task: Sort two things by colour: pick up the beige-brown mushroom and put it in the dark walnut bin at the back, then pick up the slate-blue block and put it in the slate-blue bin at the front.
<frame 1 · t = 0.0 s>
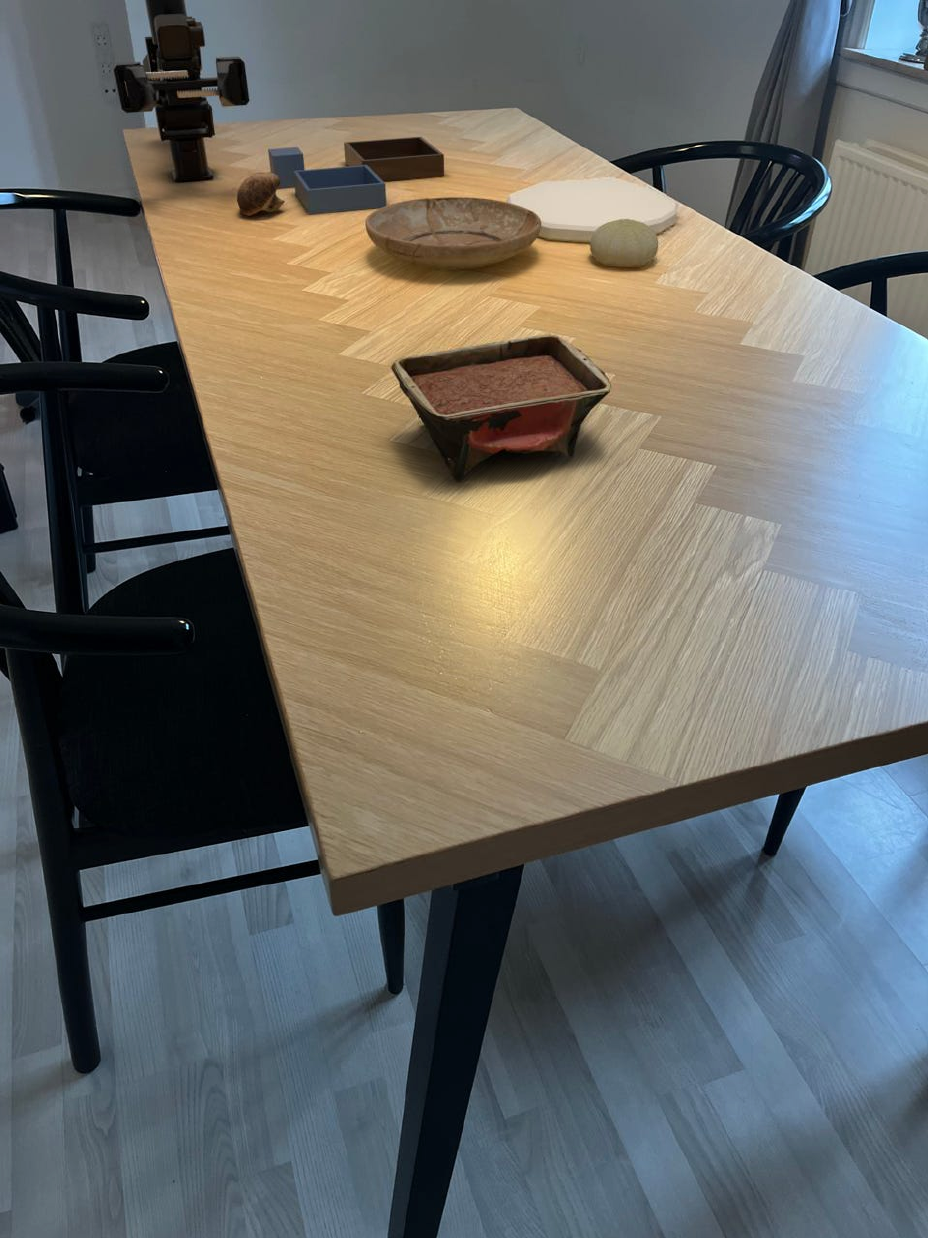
hand: (187, 94, 134), 17 cm above the table, tool horizontal, fingers open, 9 cm apart
walnut bin: (393, 169, 166), on the table
blue bin: (340, 200, 151), on the table
mushroom: (261, 214, 146), on the table
blue block: (289, 183, 159), on the table
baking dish: (498, 443, 88), on the table
sea urchin shell: (622, 261, 127), on the table
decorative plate: (591, 219, 143), on the table
ceramic bowl: (453, 257, 129), on the table
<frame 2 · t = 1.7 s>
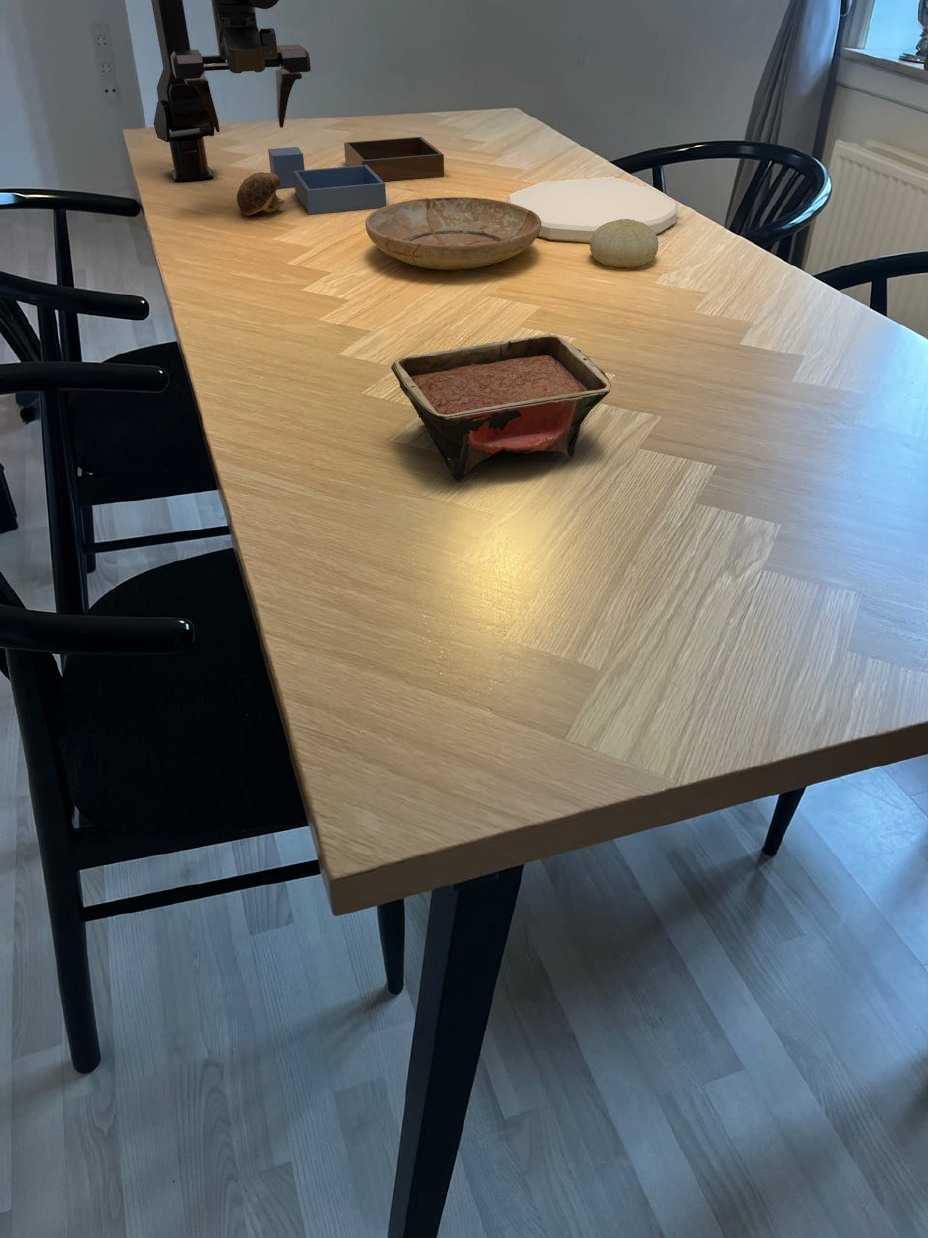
hand: (249, 129, 138), 12 cm above the table, tool pointing down, fingers open, 9 cm apart
nothing on the table moved.
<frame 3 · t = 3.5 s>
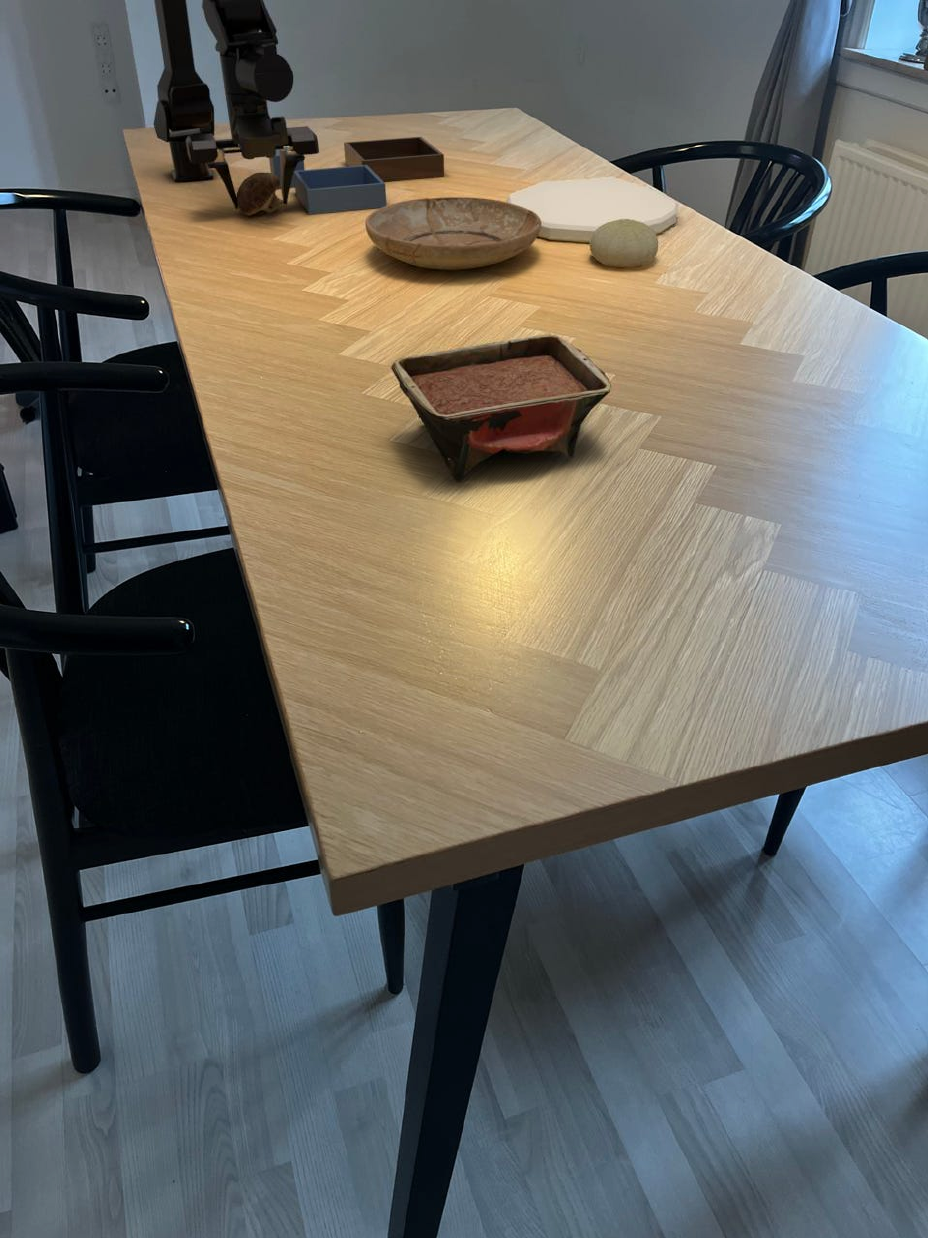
hand: (260, 205, 145), 1 cm above the table, tool pointing down, fingers closed on mushroom, 7 cm apart
mushroom: (261, 214, 145), on the table, touching gripper
everything else where it was.
when the fingers open (2 cm above the table, at t = 10.1 s): mushroom stays where it is, resting on walnut bin.
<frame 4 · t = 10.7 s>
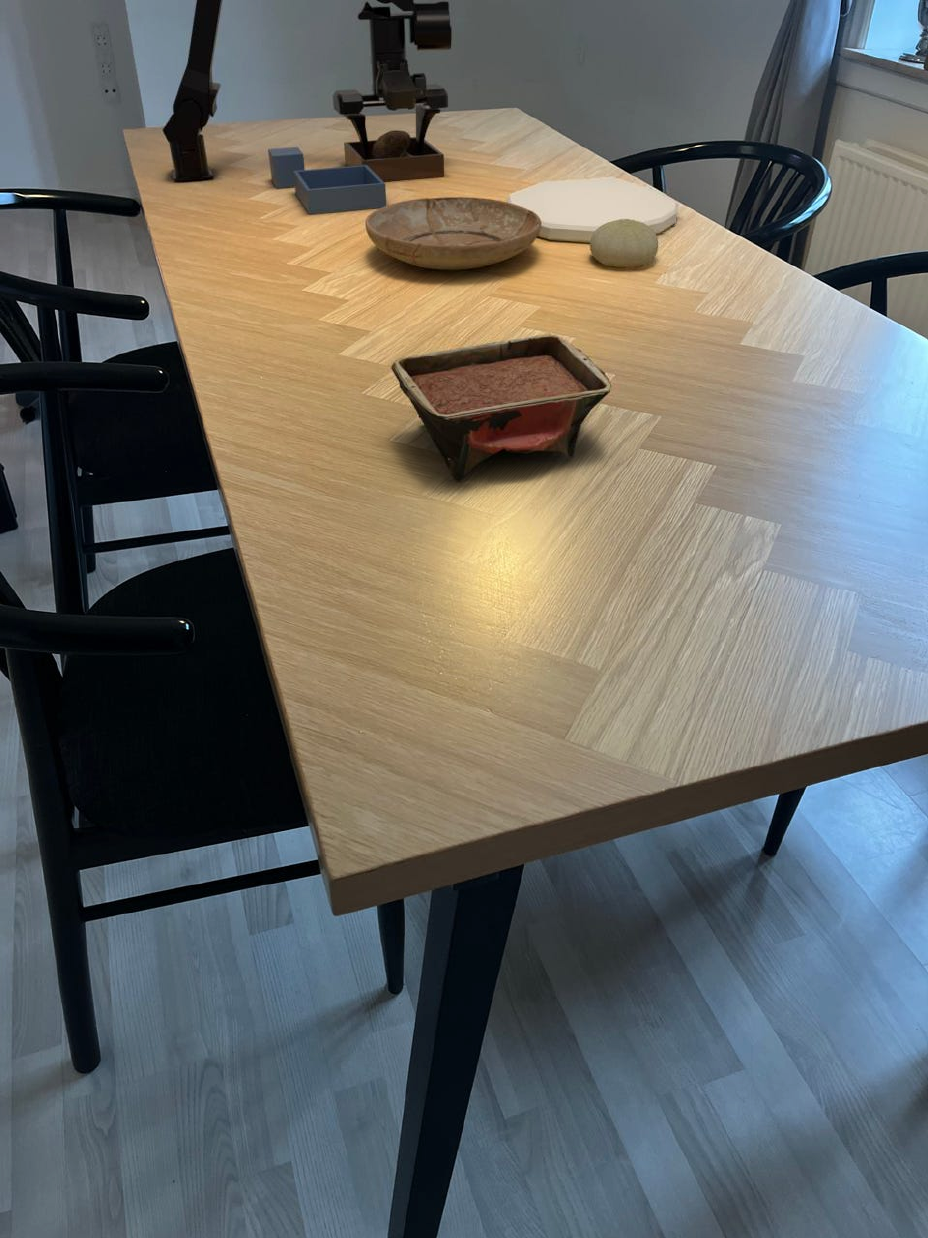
hand: (393, 154, 164), 2 cm above the table, tool pointing down, fingers open, 9 cm apart
mushroom: (392, 168, 165), resting on walnut bin
everything else where it was.
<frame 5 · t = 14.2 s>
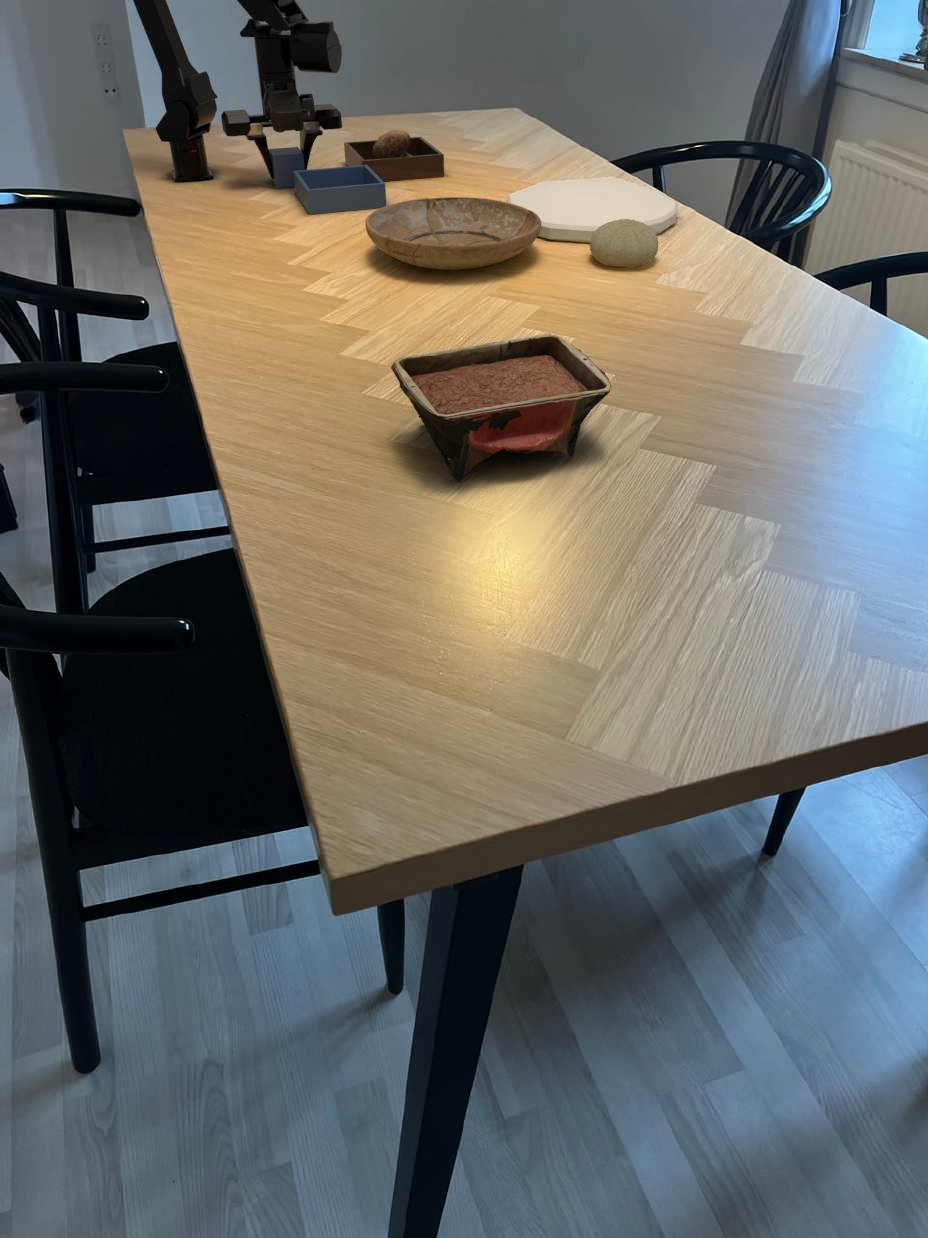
hand: (288, 176, 158), 1 cm above the table, tool pointing down, fingers closed on blue block, 5 cm apart
blue block: (289, 183, 159), on the table, touching gripper
everything else where it was.
when the fingers open (2 cm above the table, at t = 19.5 s): blue block stays where it is, resting on blue bin.
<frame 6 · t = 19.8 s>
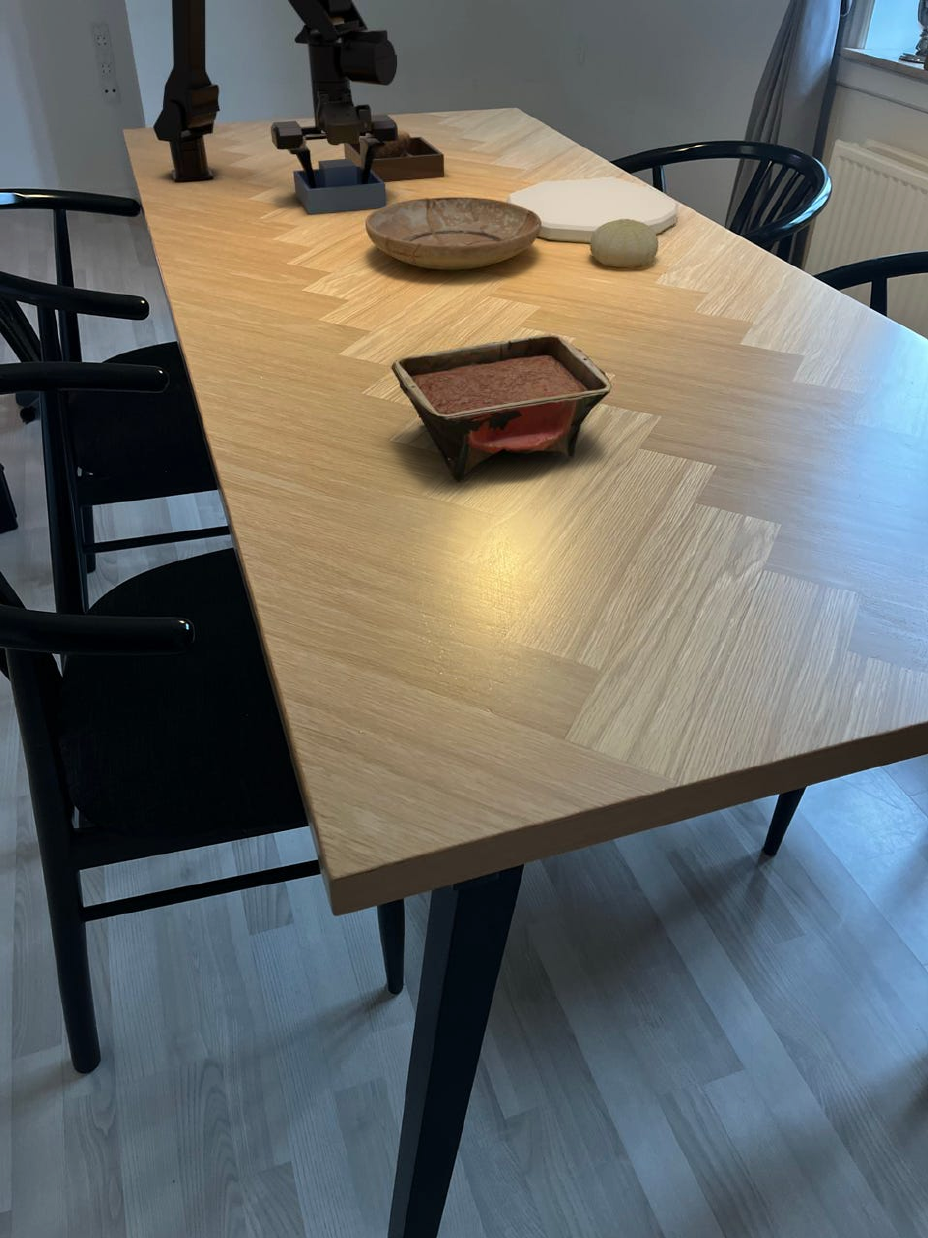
hand: (339, 191, 150), 1 cm above the table, tool pointing down, fingers open, 8 cm apart
blue block: (339, 197, 150), resting on blue bin
everything else where it was.
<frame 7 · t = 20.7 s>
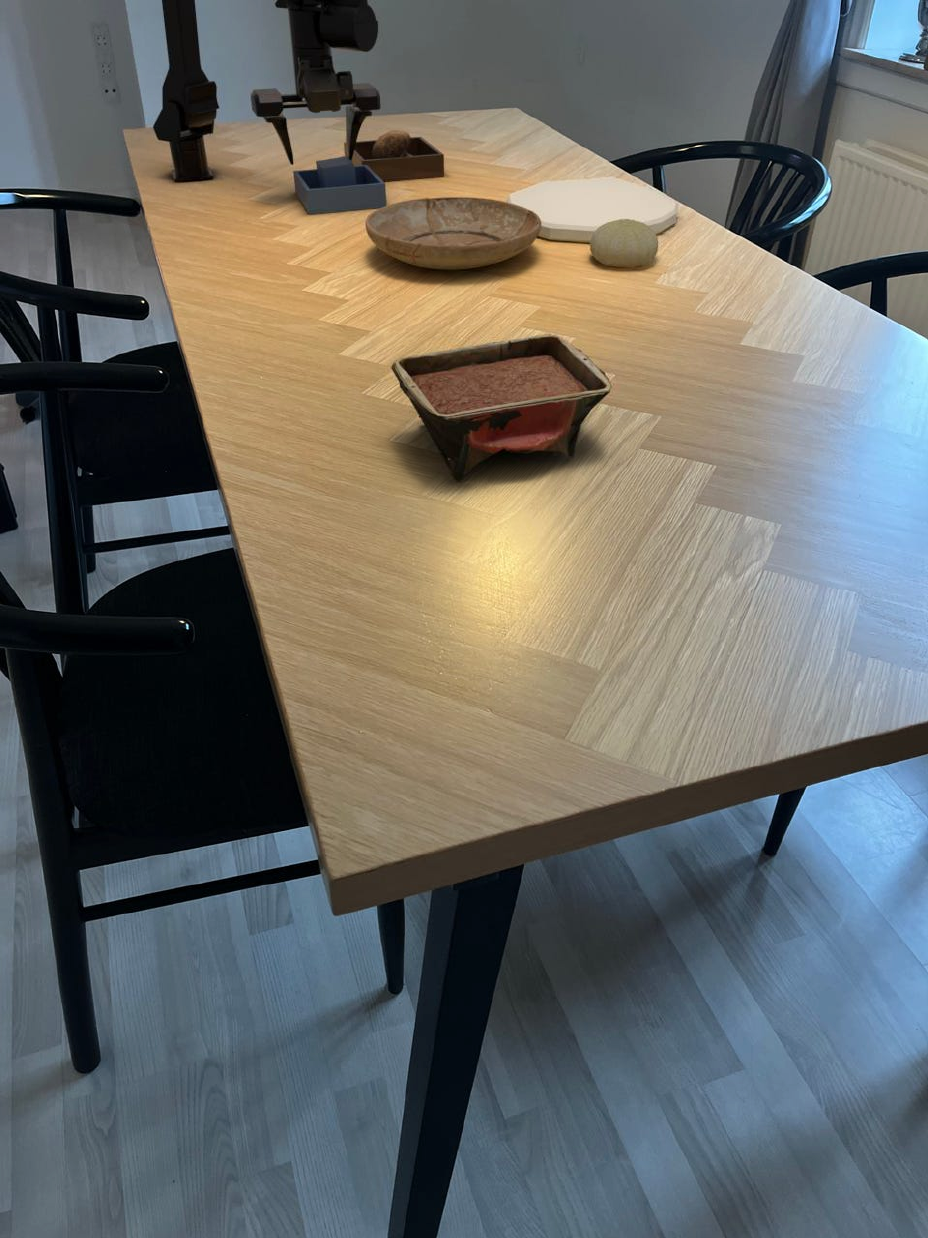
hand: (321, 161, 147), 6 cm above the table, tool pointing down, fingers open, 9 cm apart
blue block: (339, 195, 150), point 1 cm above the table, touching blue bin, gripper
everything else where it was.
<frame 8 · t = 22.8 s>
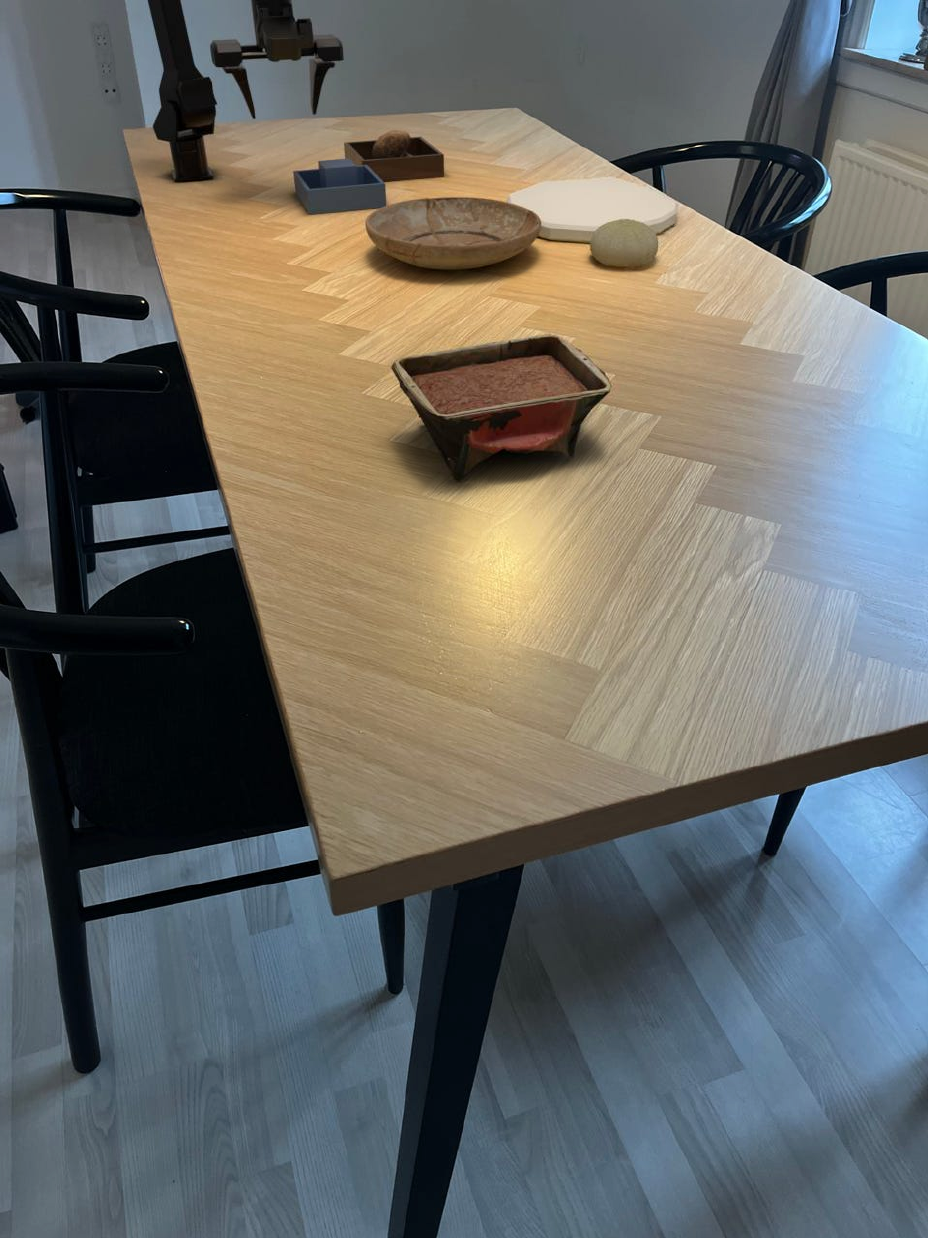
hand: (284, 116, 144), 12 cm above the table, tool pointing down, fingers open, 9 cm apart
blue block: (339, 196, 150), resting on blue bin
everything else where it was.
at the end: mushroom inside the target area in the walnut bin (0.3 cm from its centre), point 0.3 cm above the walnut bin's base; blue block inside the target area in the blue bin (0.1 cm from its centre), point 0.5 cm above the blue bin's base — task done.
